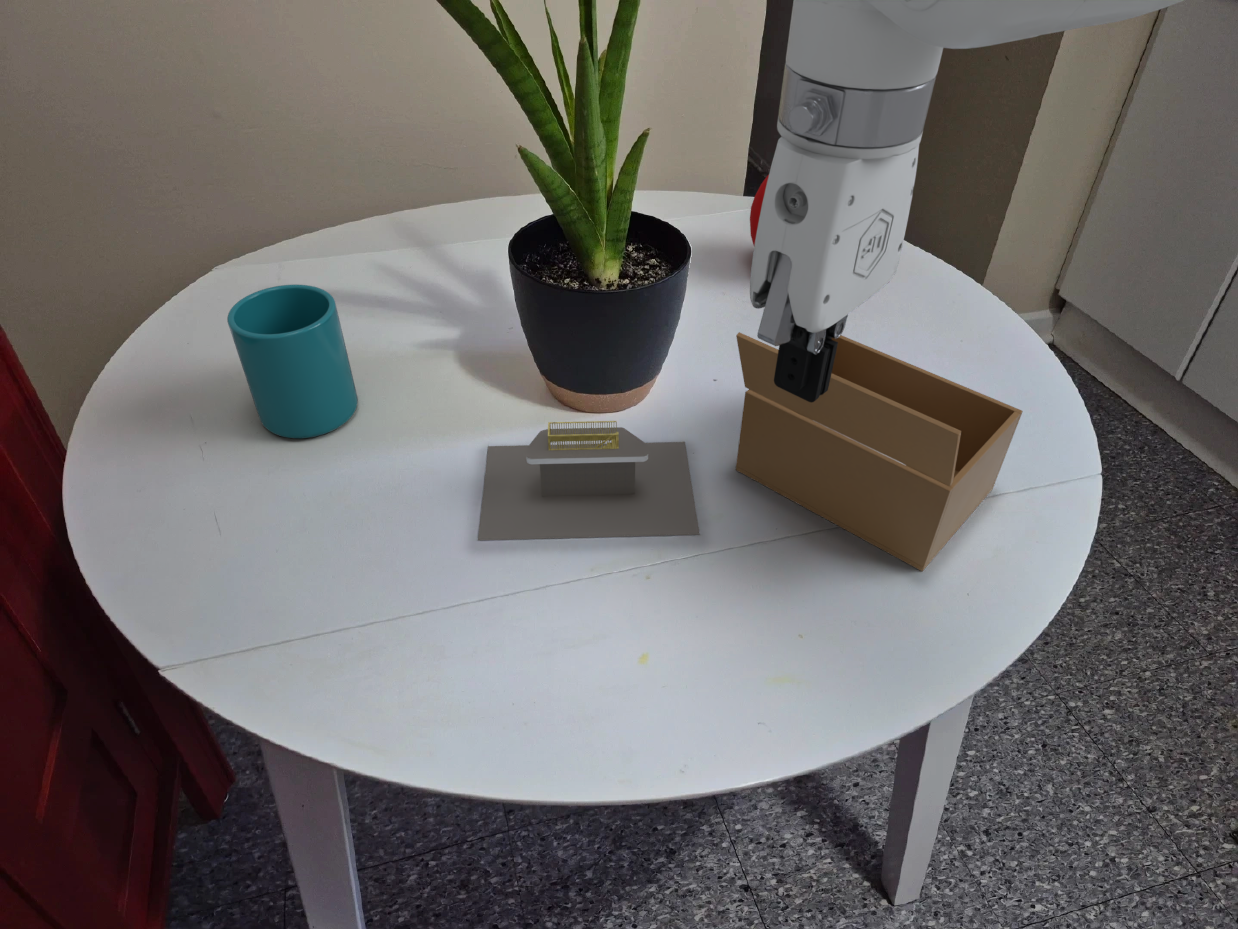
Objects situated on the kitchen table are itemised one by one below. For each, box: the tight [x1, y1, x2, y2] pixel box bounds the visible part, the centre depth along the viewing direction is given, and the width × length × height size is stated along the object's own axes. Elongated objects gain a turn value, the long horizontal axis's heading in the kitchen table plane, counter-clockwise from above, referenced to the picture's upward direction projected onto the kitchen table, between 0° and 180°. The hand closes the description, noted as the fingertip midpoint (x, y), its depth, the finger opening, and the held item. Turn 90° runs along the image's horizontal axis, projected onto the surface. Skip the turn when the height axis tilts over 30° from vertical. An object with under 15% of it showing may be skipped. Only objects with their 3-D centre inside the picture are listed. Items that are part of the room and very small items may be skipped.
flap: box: [735, 331, 961, 486], centre depth 64 cm, size 18×6×1 cm
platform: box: [477, 420, 701, 541], centre depth 73 cm, size 12×18×7 cm, turn 92°
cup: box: [227, 284, 359, 439], centre depth 80 cm, size 9×12×11 cm
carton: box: [735, 334, 1023, 572], centre depth 73 cm, size 18×13×8 cm
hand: (800, 388), depth 57 cm, fingers closed
